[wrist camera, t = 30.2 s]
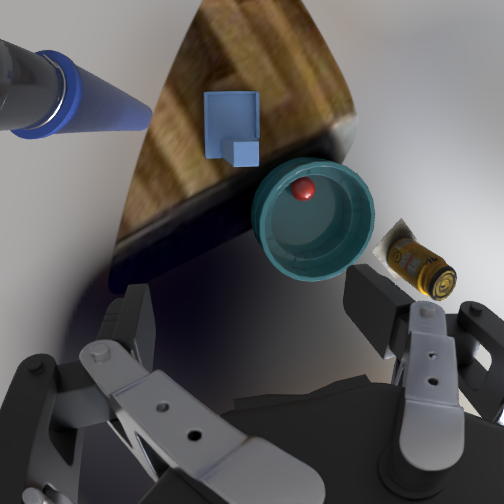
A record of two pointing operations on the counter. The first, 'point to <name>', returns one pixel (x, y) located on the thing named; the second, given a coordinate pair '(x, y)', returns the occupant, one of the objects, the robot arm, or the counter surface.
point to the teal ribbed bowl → (313, 219)
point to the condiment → (415, 263)
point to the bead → (302, 188)
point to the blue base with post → (232, 127)
